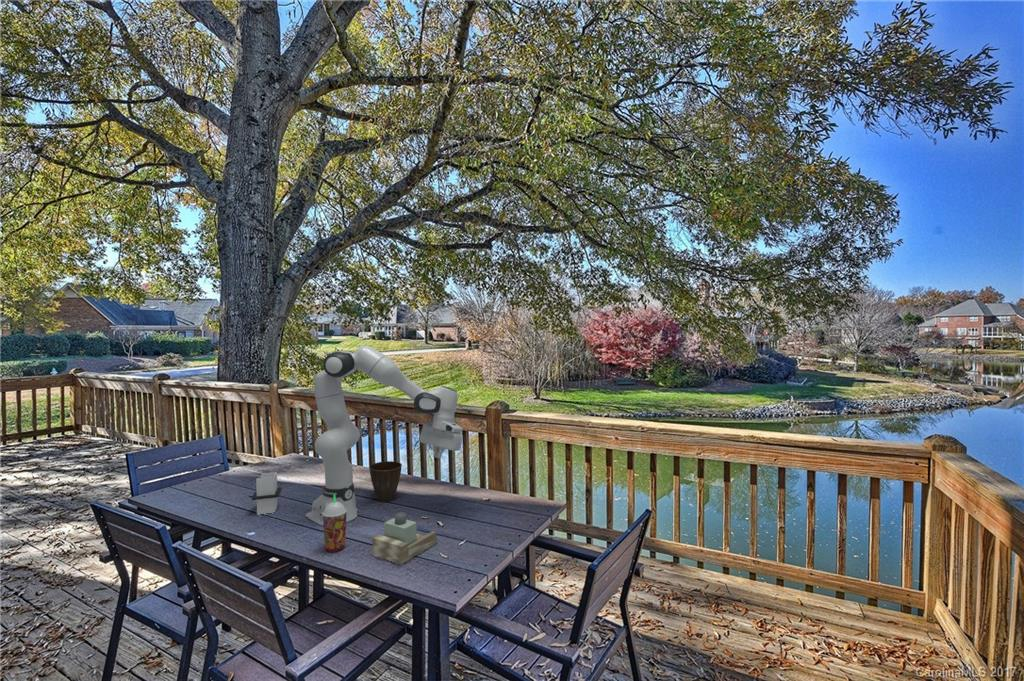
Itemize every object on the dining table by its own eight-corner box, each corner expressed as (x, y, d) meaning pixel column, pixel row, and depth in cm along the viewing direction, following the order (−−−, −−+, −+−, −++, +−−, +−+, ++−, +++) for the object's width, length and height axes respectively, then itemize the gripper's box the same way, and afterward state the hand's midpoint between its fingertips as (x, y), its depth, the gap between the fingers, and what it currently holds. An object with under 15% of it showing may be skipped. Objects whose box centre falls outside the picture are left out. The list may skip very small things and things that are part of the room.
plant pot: (406, 493, 229) (406, 461, 229) (395, 505, 215) (395, 470, 214) (376, 493, 231) (376, 460, 230) (364, 504, 216) (364, 470, 216)
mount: (372, 555, 167) (372, 537, 167) (409, 535, 183) (409, 518, 183) (401, 565, 160) (401, 546, 160) (437, 543, 176) (437, 526, 176)
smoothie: (319, 548, 172) (318, 494, 172) (341, 541, 178) (340, 489, 178) (328, 556, 167) (328, 500, 166) (351, 548, 172) (350, 494, 172)
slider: (384, 547, 169) (384, 514, 169) (396, 540, 174) (396, 508, 174) (405, 553, 164) (404, 520, 164) (416, 547, 169) (416, 514, 169)
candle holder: (242, 505, 217) (242, 470, 216) (300, 498, 224) (299, 464, 224) (229, 526, 193) (228, 487, 193) (294, 518, 201) (293, 480, 200)
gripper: (419, 420, 202) (413, 452, 201) (457, 429, 192) (451, 463, 190) (429, 421, 208) (423, 452, 206) (466, 429, 197) (460, 462, 196)
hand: (437, 457), depth 198 cm, fingers closed
